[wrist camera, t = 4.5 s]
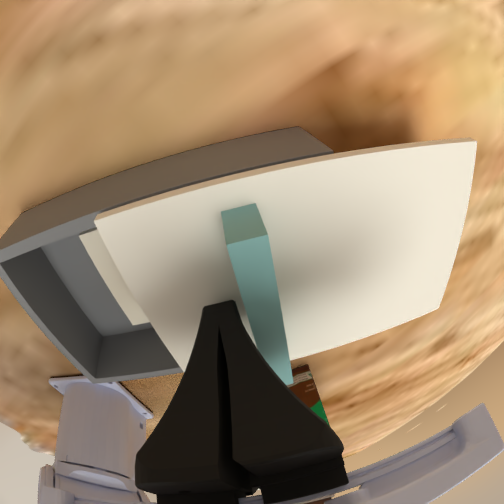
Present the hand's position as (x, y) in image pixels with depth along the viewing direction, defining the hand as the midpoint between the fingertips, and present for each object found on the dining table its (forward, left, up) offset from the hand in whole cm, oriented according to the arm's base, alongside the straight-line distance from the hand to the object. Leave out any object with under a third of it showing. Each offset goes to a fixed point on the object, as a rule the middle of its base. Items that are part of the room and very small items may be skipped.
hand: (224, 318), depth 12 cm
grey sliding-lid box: (0, +3, -6) cm, 6 cm away
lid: (0, -5, -1) cm, 5 cm away
